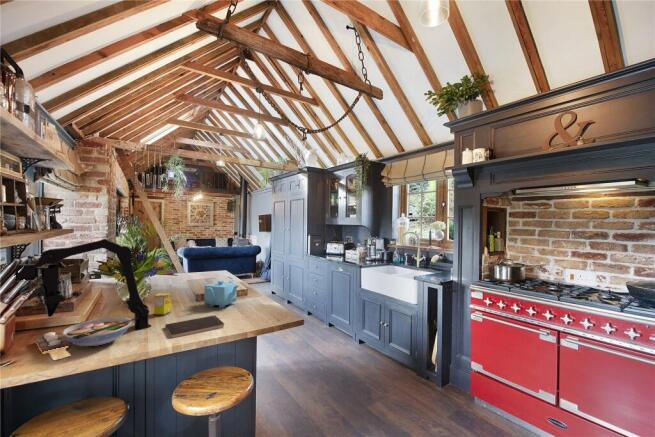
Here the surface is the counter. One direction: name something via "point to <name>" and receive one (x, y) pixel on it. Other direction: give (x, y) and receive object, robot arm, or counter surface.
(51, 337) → the button
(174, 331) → the hardcover book
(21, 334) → the counter surface
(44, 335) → the button
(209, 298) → the teakettle
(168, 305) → the supplement box
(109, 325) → the ramen bowl
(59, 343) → the button
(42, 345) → the button board
